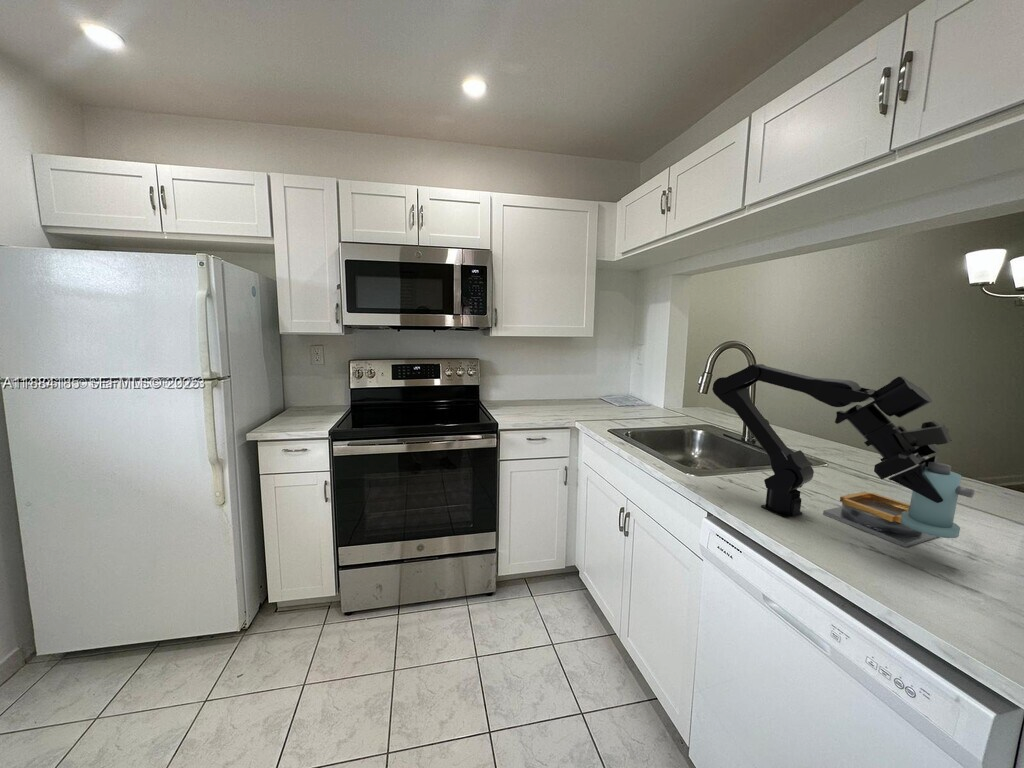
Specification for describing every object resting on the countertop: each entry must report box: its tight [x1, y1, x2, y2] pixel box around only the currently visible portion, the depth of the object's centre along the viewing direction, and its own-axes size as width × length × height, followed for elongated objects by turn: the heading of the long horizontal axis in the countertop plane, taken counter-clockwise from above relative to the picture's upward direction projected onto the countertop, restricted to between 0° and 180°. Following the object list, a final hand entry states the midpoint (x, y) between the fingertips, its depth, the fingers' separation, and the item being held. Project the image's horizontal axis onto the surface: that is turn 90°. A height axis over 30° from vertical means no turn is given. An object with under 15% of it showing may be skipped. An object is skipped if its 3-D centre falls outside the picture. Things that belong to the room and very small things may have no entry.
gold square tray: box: [822, 491, 938, 548], centre depth 93 cm, size 16×14×5 cm
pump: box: [900, 461, 975, 539], centre depth 76 cm, size 9×8×13 cm
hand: (944, 498), depth 76 cm, fingers closed on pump, 6 cm apart
